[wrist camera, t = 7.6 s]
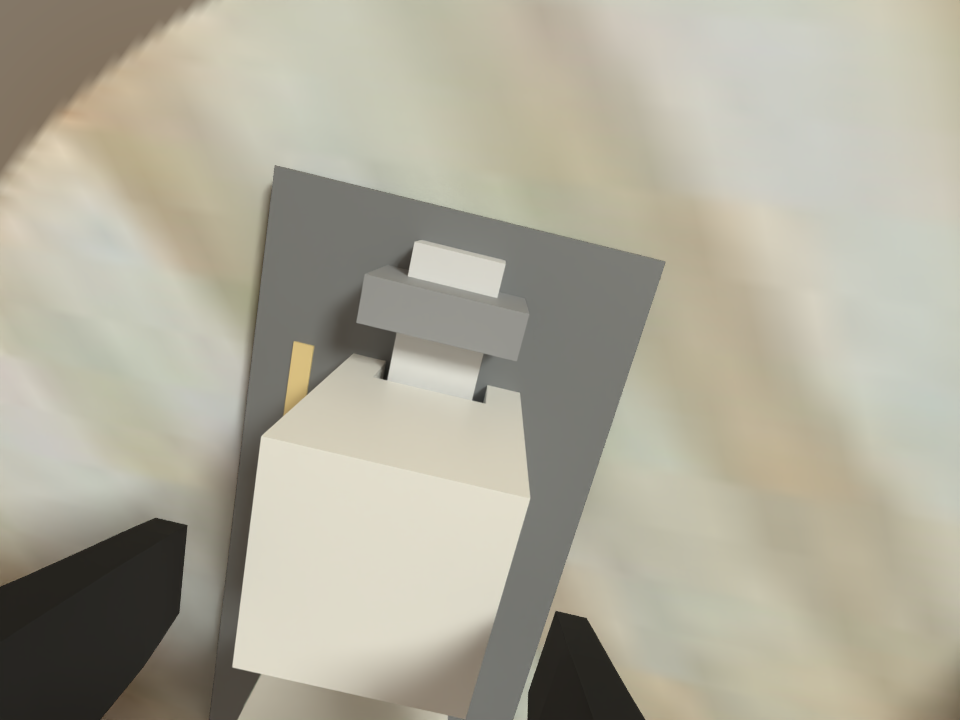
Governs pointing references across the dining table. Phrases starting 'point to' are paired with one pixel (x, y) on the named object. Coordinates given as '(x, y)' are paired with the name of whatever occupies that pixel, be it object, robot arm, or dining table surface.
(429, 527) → the block
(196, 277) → the dining table surface
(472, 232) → the rail
